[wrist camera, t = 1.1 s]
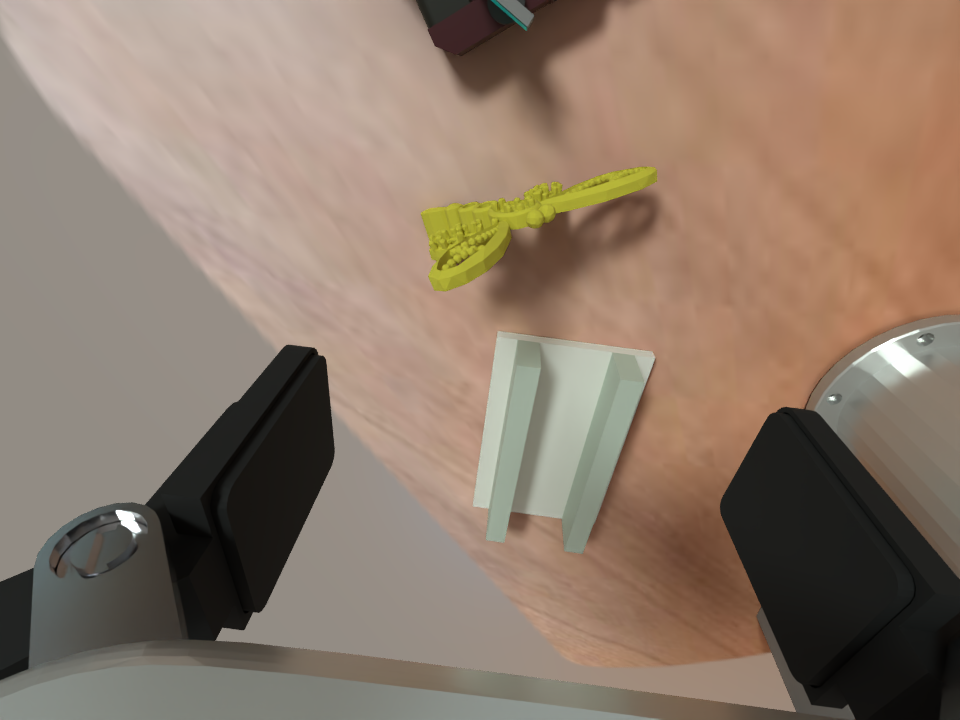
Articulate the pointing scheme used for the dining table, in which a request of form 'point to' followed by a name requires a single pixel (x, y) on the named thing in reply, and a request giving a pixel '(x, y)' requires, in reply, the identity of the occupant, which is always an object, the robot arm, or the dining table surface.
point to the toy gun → (474, 20)
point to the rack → (555, 430)
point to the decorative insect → (510, 222)
